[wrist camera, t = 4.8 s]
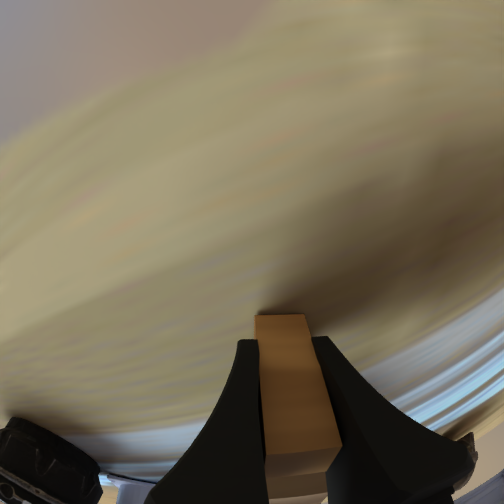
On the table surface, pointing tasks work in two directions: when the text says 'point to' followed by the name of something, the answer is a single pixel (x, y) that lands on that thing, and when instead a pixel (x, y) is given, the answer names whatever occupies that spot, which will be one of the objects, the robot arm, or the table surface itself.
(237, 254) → the table surface
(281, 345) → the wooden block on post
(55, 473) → the container
